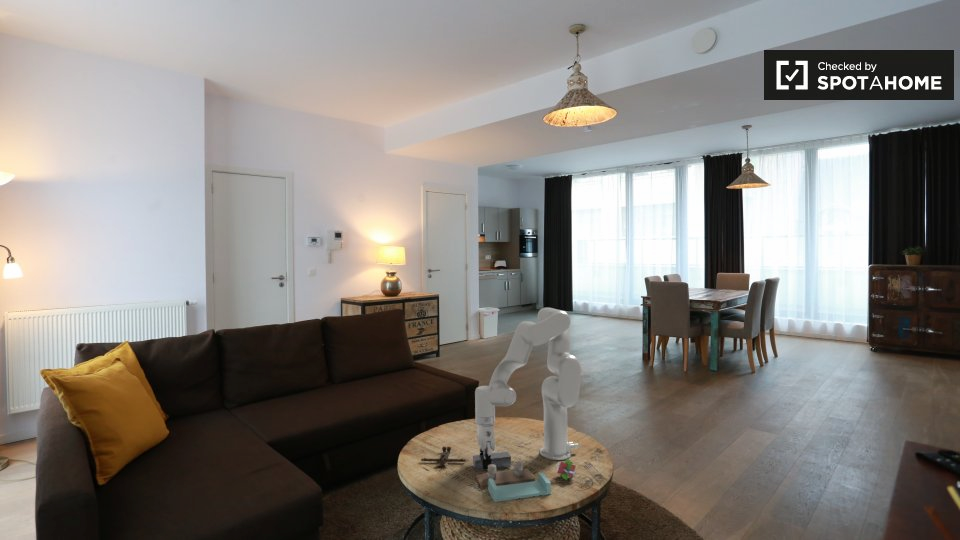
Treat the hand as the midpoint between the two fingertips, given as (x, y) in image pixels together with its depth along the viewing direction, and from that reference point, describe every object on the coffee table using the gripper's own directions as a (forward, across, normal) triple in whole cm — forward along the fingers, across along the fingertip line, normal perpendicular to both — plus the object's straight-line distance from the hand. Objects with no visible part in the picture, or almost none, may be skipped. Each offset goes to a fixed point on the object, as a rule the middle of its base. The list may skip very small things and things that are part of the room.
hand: (485, 465), depth 182 cm
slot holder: (+1, -22, -7) cm, 22 cm away
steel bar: (+1, 0, -3) cm, 3 cm away
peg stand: (+1, -12, -5) cm, 12 cm away
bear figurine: (+1, +10, +14) cm, 18 cm away
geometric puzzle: (+1, -16, -27) cm, 31 cm away
